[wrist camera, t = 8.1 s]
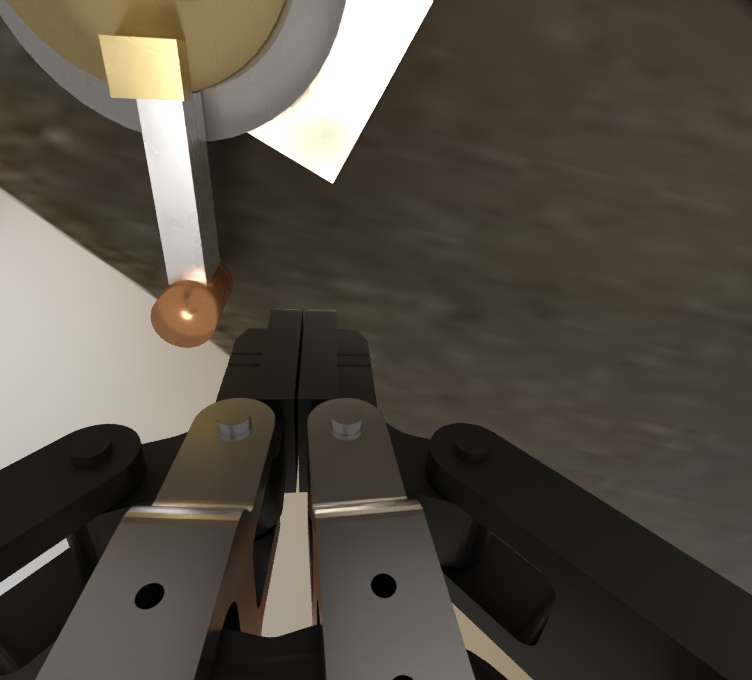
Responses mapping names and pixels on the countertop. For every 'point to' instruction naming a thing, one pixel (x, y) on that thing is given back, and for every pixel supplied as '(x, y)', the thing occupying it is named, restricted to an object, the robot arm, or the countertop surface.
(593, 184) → the countertop surface
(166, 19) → the yellow disc with lever
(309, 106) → the cap housing
